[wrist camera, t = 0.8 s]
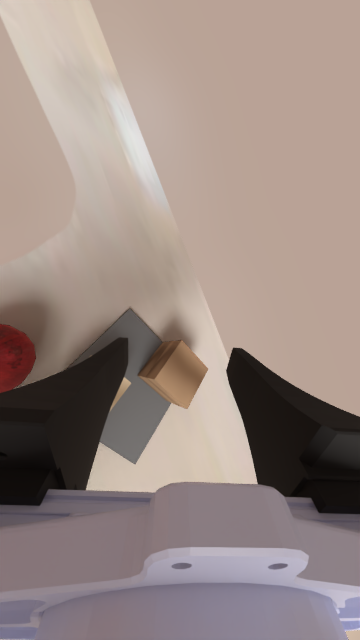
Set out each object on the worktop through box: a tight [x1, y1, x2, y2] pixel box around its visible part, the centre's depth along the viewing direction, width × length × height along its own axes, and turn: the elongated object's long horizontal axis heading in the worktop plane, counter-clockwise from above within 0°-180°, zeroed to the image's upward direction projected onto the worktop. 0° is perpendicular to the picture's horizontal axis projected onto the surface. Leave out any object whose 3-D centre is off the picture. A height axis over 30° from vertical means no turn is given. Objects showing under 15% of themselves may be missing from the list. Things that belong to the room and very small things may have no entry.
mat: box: [67, 309, 171, 464], centre depth 23 cm, size 14×14×1 cm
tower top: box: [145, 340, 208, 409], centre depth 23 cm, size 6×6×2 cm
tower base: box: [137, 341, 175, 404], centre depth 25 cm, size 6×6×2 cm
